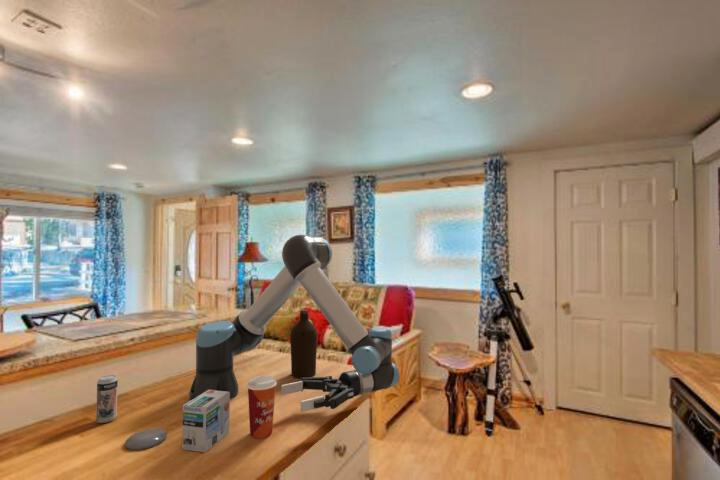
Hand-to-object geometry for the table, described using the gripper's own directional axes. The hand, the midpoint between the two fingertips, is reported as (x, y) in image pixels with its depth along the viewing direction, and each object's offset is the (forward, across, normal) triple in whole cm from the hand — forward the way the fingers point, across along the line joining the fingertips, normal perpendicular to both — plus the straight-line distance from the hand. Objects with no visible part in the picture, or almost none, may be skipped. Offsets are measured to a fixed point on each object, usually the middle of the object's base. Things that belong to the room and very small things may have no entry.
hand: (290, 398), depth 101 cm
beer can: (+42, +32, -8) cm, 53 cm away
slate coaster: (+34, +12, -7) cm, 37 cm away
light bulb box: (+21, +4, -8) cm, 23 cm away
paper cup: (+8, 0, -8) cm, 11 cm away
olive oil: (-21, +37, -8) cm, 43 cm away
